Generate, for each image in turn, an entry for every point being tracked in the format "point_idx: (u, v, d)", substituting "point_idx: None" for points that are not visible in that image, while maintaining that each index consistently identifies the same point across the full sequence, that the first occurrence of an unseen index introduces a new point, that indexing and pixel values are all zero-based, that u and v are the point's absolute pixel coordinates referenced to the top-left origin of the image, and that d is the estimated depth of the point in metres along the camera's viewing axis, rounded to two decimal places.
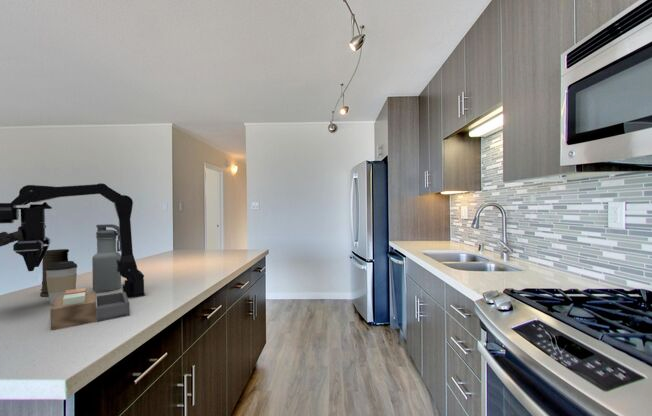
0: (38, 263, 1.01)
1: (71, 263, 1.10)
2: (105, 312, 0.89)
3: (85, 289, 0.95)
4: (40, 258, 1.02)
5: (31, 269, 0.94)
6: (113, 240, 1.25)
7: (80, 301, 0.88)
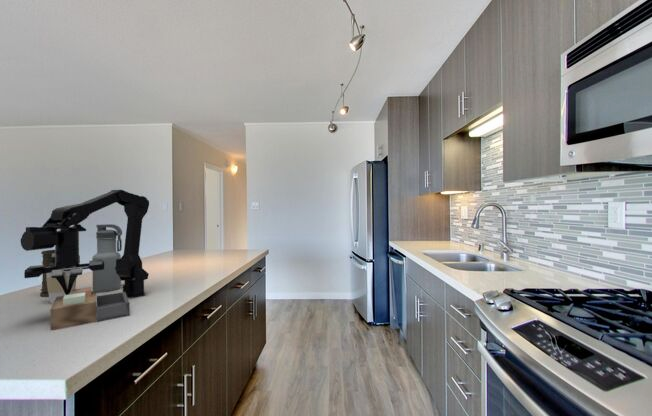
0: None
1: None
2: (105, 312, 0.89)
3: (90, 288, 0.96)
4: (68, 286, 0.92)
5: None
6: (113, 240, 1.25)
7: (80, 301, 0.88)
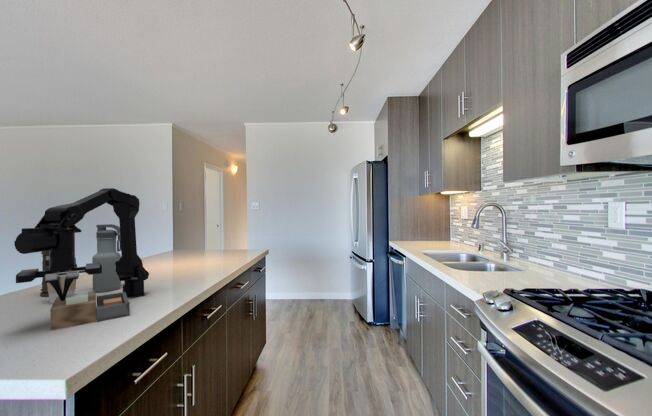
0: None
1: None
2: (105, 312, 0.89)
3: None
4: (63, 291, 0.86)
5: None
6: (113, 240, 1.25)
7: (83, 301, 0.88)
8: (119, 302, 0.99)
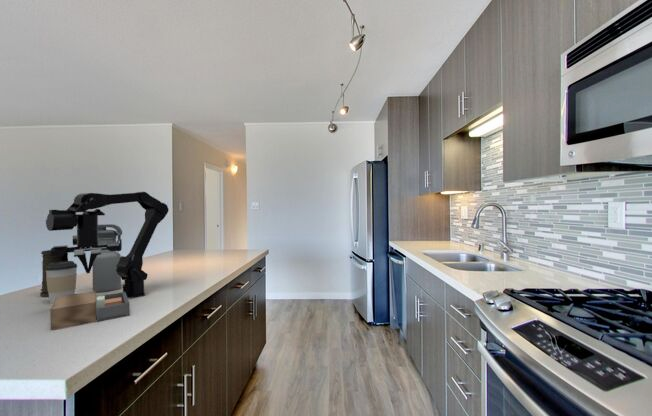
0: None
1: (71, 263, 1.10)
2: (105, 312, 0.89)
3: None
4: None
5: (86, 271, 1.01)
6: (113, 240, 1.25)
7: None
8: (119, 302, 0.99)
